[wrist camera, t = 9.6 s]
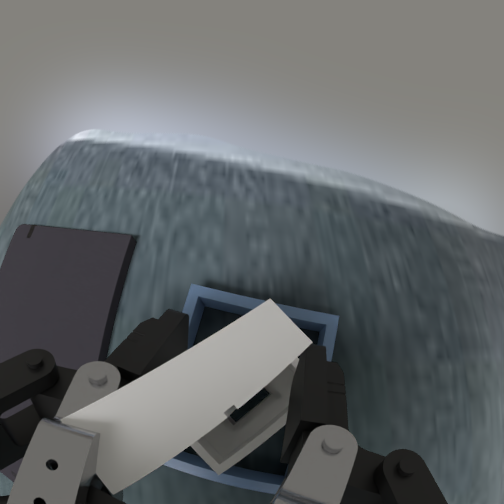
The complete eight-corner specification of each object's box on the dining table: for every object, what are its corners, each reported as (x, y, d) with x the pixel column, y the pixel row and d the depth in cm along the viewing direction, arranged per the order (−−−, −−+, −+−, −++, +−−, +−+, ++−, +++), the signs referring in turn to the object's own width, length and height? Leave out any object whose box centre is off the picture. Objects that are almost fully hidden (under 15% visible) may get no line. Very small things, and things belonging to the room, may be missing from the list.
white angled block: (99, 454, 10) (60, 419, 4) (244, 360, 17) (324, 262, 11) (149, 513, 8) (177, 558, 3) (286, 404, 15) (390, 328, 10)
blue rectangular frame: (330, 324, 17) (339, 315, 15) (291, 485, 13) (295, 497, 11) (198, 294, 18) (191, 283, 16) (154, 449, 14) (141, 456, 12)
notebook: (94, 519, 11) (139, 245, 20) (83, 526, 10) (131, 234, 19) (-17, 447, 12) (27, 231, 21) (-28, 447, 11) (18, 222, 20)
